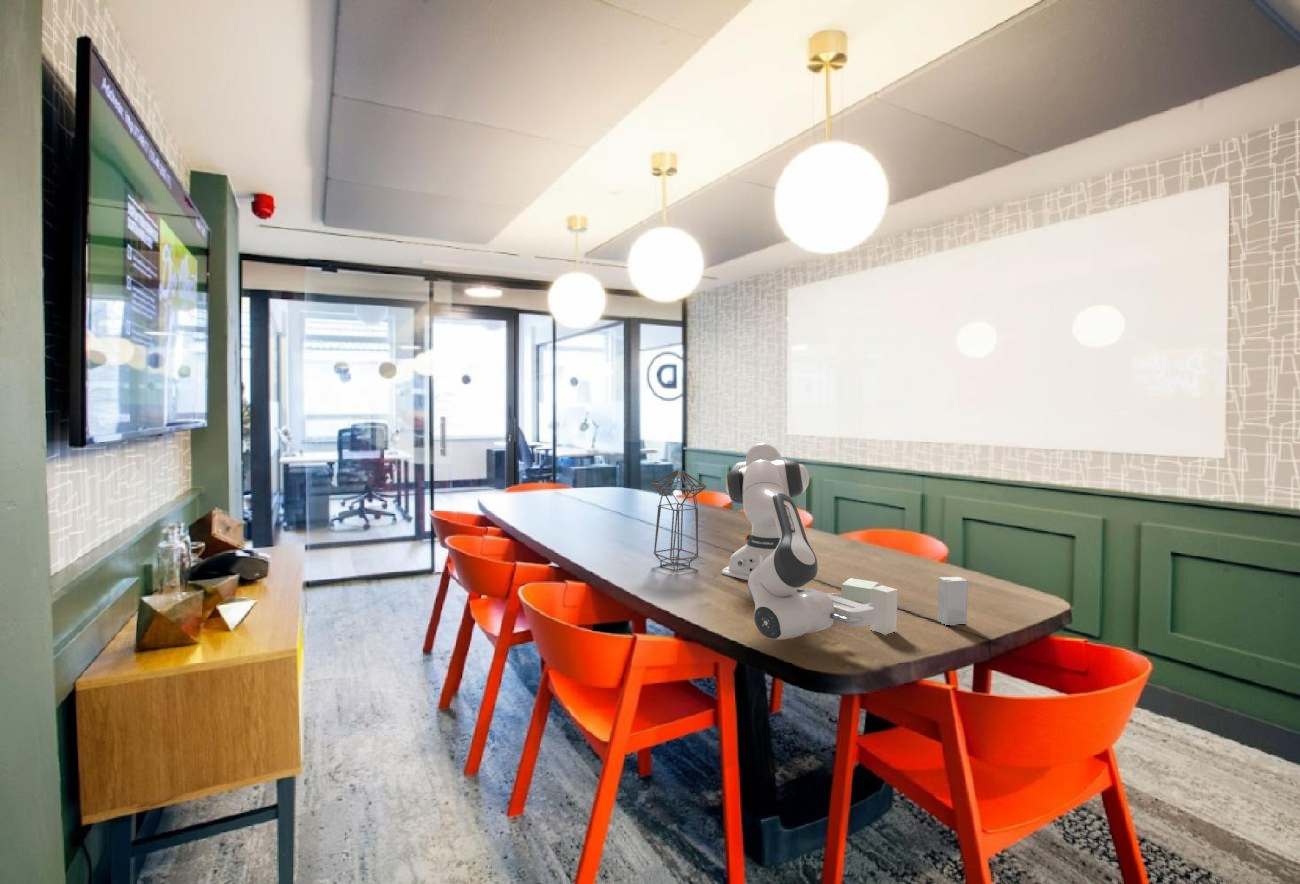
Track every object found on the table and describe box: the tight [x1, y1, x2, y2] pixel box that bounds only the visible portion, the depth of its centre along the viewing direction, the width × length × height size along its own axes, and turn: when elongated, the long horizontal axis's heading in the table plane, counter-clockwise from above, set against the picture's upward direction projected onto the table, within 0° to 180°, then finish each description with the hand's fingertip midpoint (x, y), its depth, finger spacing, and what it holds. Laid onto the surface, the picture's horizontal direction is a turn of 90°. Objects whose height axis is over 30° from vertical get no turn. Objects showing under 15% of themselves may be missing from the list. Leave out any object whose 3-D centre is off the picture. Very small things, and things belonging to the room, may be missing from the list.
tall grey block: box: [869, 584, 899, 635], centre depth 159 cm, size 4×4×11 cm
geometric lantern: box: [649, 469, 708, 572], centre depth 221 cm, size 16×16×35 cm
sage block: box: [840, 577, 880, 603], centre depth 175 cm, size 8×8×4 cm
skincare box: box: [936, 576, 969, 626], centre depth 165 cm, size 6×4×12 cm
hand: (853, 601), depth 152 cm, fingers open, 8 cm apart
